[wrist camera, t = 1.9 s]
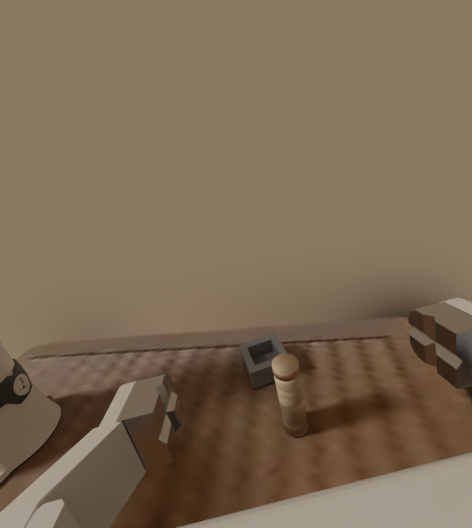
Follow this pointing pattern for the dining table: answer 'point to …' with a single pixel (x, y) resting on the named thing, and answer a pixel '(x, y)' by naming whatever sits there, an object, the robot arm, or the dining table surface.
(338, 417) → the dining table surface
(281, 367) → the dowel
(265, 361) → the square socket block
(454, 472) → the robot arm
